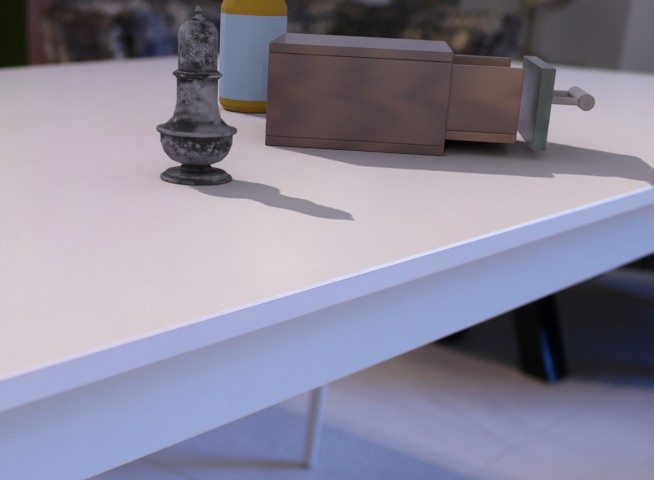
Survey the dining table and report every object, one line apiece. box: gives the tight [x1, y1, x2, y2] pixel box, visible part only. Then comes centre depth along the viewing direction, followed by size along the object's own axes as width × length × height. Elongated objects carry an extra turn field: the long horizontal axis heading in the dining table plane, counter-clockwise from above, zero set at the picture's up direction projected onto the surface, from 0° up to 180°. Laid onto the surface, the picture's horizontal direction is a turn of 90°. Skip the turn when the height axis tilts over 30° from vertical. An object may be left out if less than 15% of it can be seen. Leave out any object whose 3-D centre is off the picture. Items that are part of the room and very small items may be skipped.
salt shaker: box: [155, 4, 238, 186], centre depth 75 cm, size 6×6×12 cm
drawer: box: [445, 54, 596, 151], centre depth 96 cm, size 19×13×7 cm
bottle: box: [218, 0, 288, 114], centre depth 112 cm, size 7×7×15 cm
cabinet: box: [264, 32, 455, 157], centre depth 97 cm, size 16×15×9 cm
